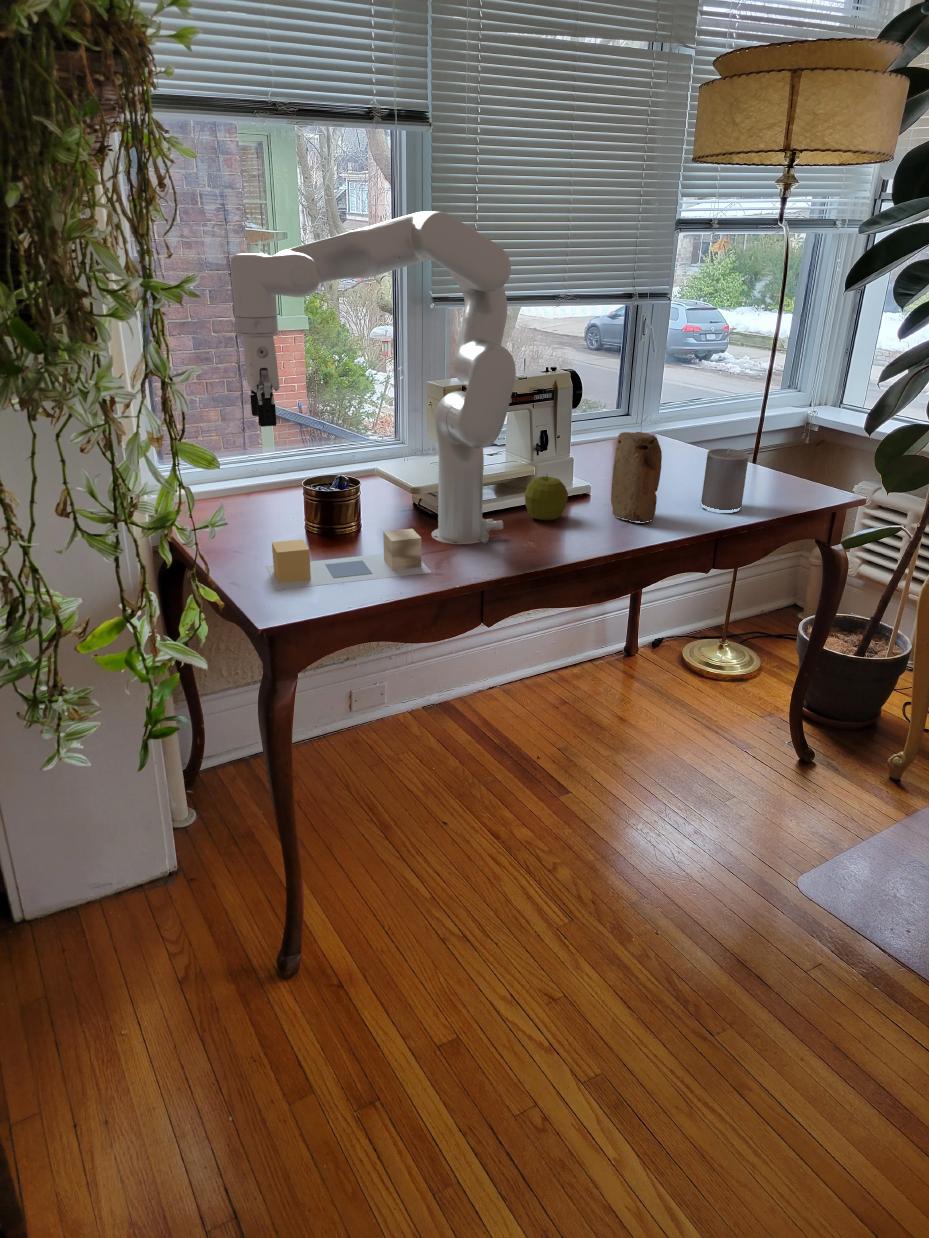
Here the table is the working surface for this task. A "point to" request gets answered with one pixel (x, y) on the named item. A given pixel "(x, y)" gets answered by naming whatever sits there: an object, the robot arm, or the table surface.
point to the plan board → (347, 571)
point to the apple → (545, 498)
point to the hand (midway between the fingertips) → (264, 420)
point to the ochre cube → (291, 560)
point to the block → (636, 476)
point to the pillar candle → (724, 479)
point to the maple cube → (402, 549)
